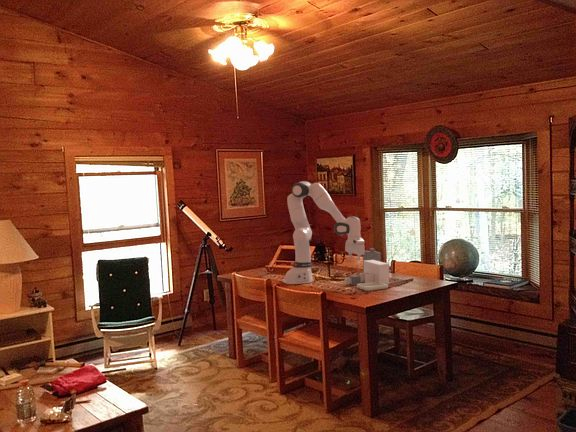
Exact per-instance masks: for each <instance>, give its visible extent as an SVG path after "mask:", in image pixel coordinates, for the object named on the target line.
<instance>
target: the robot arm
mask: <svg viewBox="0 0 576 432" xmlns="http://www.w3.org/2000/svg"><path fill="white" fill-rule="evenodd" d="M308 196H309V197H311V199H312V200H313V202H314V203H315V204H316V206H317V207H318V208H319V209H320V210H323V211H325V212H327V213H329V214H330V215H331V217H332V218H333V219H334V221H335V222H336V223H334V226H333V231H334V233H336V235H338V236H344V235H347V239H346V241H345V246H344V251H345V252H347V253H348V258H349V259H350V260H353V259H354V258H353V254H354V255H356V256H357V257H356V261H357V262H360V260H361V257H362V256H363V255H364V253H365V251H366V250H365V249H366V248H365V240H364V239H363V238H362V235H361V229H362V227H361V220H360V218H359V217H358V216H348V217H347V218H346V217H345V216H344V215H343V214H342V212H341V211H340V209H339V208H338V207H337V205H336V204H335V202H334V201H333V200H332V198H331V196H330V194H329V193H328V191H327V190H326V189H325V187H324V186H323V185H322V184H321V183H320V182H313V183H311V182H310V181H307V180H303V181H299V182H295V183H294V184H293V185H292V187H291V193H290V194H289V195H287V198H286V199H287V200H286V201H287V209H288V212H289V213H288V214H289V215H290V221H291V223H292V225H293V227H294V231H293V233H292V238H293V245H294V253H295V258H294V259H295V261H294V262H293V261H291V262H290V265H291V266H292V267H291V268H290V269H289V270H288V271H287V272H286V273H285V275H284V276H285V277H284V279H282V281H281V282H282V283H284V284H286V285H298V284H299V285H301V284H311V282H313V281H314V278H313V275H312V260H311V259H312V258H311V257H312V255H311V254H312V252H311V247H310V240H311V238H312V235H313V230H312V228H311V226H310V223H309V221H308V217H307V213H306V211H305V207H304V202H303V200H304V199H305V198H307V197H308Z"/></svg>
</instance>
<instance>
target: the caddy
mask: <svg viewBox="0 0 576 432" xmlns="http://www.w3.org/2000/svg"><path fill="white" fill-rule="evenodd" d="M361 283H362V282H361V276H359V274H352V275H349V276H348V277H345V278H344V285H351V286H357V284H361Z"/></svg>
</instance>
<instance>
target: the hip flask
mask: <svg viewBox="0 0 576 432" xmlns="http://www.w3.org/2000/svg"><path fill="white" fill-rule="evenodd" d="M381 254H382V253H381V251H376V250H375V248H373V247H371V248H369V250H365V253H364V255H362V273H364V261H365V260H376V261H380V262H382V261H381V256H382V255H381Z"/></svg>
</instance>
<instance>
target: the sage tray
mask: <svg viewBox="0 0 576 432" xmlns="http://www.w3.org/2000/svg"><path fill="white" fill-rule="evenodd" d="M356 288H357V289H360V290H362V289H363V291H364V292H370V291H378V290H386V289H389V284H384V283H381V282H370V283H365V282H361V284H357V285H356Z"/></svg>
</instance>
